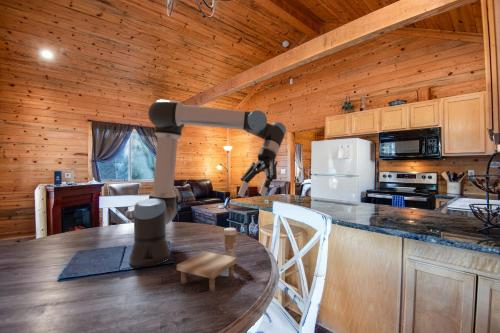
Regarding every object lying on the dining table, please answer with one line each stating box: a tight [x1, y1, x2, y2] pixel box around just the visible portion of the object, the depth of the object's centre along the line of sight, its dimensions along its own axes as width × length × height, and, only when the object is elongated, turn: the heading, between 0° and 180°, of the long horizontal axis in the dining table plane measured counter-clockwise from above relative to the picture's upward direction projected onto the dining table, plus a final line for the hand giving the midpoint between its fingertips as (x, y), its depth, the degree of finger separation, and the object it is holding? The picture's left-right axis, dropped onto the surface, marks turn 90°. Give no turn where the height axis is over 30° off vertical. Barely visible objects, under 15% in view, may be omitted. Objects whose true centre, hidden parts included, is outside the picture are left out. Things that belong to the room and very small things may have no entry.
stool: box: [176, 250, 238, 293], centre depth 82 cm, size 14×14×6 cm
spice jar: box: [223, 227, 237, 267], centre depth 94 cm, size 5×5×14 cm
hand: (250, 195), depth 101 cm, fingers open, 13 cm apart
